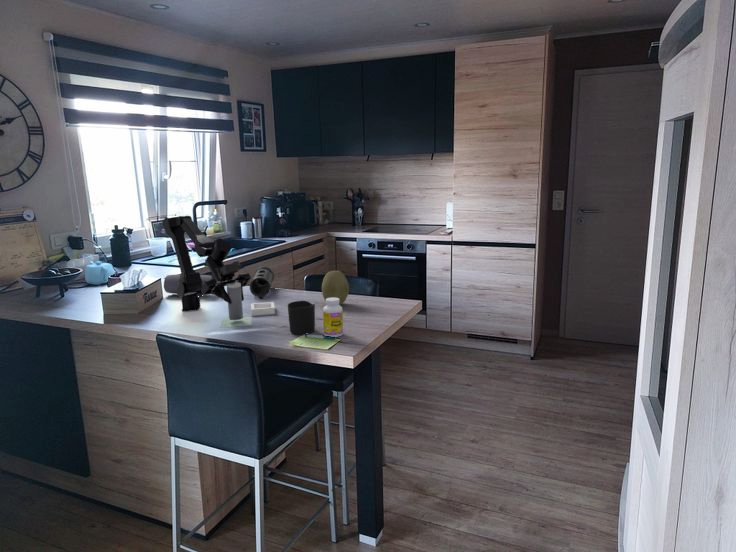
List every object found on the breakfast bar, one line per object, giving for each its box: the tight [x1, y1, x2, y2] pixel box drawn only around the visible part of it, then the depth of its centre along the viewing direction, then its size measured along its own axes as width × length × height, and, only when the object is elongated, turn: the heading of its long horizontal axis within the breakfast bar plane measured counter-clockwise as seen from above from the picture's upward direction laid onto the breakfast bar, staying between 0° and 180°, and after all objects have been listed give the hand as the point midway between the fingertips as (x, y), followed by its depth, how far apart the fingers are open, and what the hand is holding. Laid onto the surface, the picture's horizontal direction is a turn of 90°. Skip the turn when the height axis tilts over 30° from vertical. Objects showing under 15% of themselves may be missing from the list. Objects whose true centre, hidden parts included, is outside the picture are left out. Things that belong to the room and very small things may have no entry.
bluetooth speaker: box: [163, 273, 215, 297], centre depth 232 cm, size 23×9×10 cm, turn 80°
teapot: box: [84, 260, 116, 286], centre depth 262 cm, size 12×18×12 cm
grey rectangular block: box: [226, 283, 244, 320], centre depth 187 cm, size 5×5×13 cm
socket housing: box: [250, 301, 276, 317], centre depth 201 cm, size 9×9×4 cm
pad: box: [220, 316, 253, 328], centre depth 189 cm, size 11×11×1 cm
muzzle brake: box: [249, 265, 275, 299], centre depth 237 cm, size 10×28×10 cm, turn 7°
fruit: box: [321, 269, 350, 306], centre depth 211 cm, size 11×11×15 cm
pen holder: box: [287, 300, 316, 336], centre depth 178 cm, size 9×9×10 cm
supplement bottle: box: [322, 297, 344, 338], centre depth 173 cm, size 7×7×13 cm
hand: (236, 301), depth 186 cm, fingers closed on grey rectangular block, 5 cm apart
